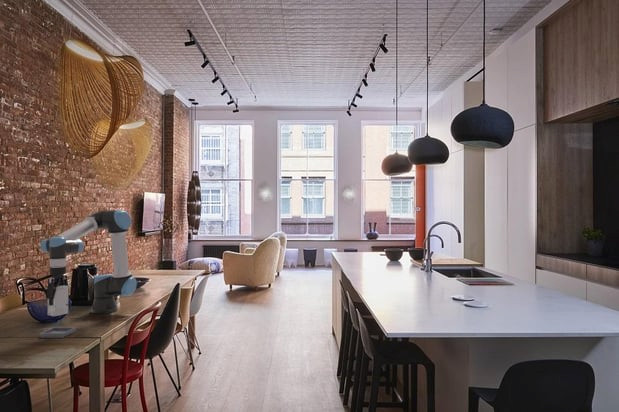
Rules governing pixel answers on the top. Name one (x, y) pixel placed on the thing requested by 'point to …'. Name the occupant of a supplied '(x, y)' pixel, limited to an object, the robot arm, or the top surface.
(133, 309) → the top surface
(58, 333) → the tray
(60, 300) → the skincare box
